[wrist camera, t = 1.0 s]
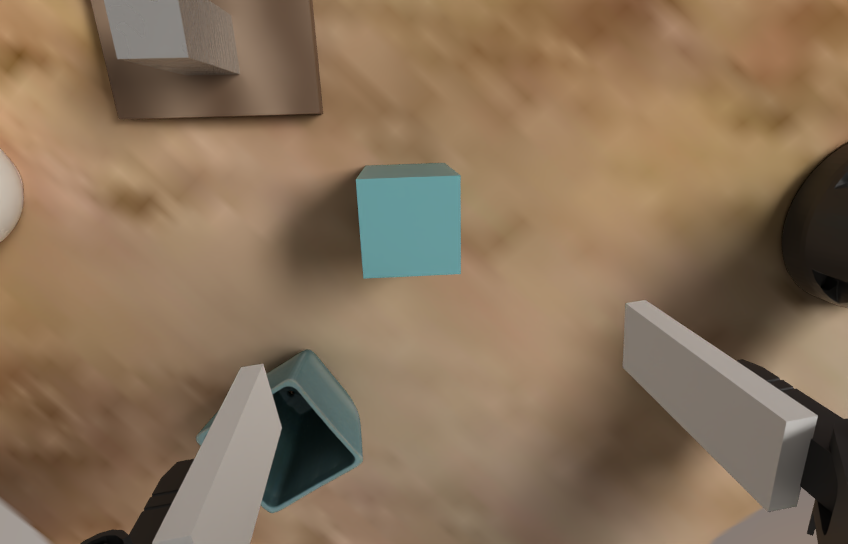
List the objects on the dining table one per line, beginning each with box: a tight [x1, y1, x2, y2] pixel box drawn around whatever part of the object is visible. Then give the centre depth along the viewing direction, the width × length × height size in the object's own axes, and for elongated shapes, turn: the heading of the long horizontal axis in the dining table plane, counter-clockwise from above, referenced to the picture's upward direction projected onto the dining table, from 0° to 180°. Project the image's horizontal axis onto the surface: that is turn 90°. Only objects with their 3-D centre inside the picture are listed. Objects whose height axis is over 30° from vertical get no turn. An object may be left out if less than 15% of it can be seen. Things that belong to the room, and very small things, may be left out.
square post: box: [104, 0, 240, 75], centre depth 27 cm, size 4×4×10 cm
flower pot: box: [196, 350, 363, 513], centre depth 36 cm, size 9×9×9 cm
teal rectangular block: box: [356, 163, 461, 278], centre depth 31 cm, size 6×6×9 cm
